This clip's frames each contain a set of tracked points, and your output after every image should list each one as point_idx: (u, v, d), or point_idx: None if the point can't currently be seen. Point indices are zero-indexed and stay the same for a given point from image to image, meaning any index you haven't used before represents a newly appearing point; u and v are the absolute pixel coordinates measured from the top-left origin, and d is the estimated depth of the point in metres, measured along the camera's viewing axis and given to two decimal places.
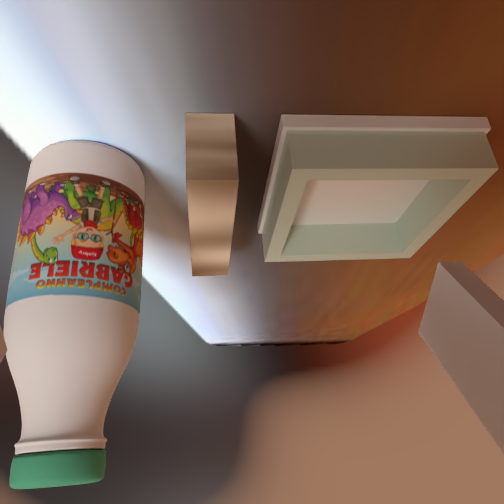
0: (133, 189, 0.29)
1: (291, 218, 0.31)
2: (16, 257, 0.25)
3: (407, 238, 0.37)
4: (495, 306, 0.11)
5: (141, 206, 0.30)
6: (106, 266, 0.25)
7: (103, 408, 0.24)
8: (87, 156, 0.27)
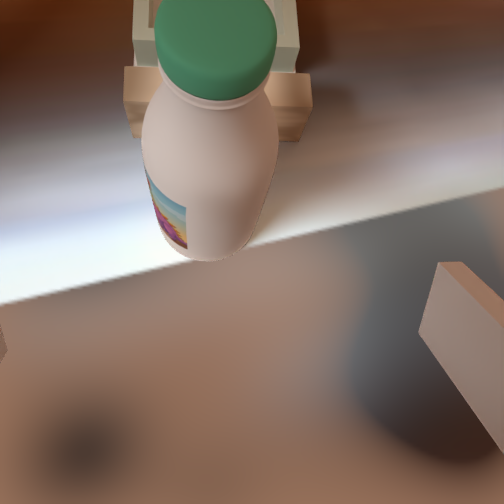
0: None
1: None
2: (169, 216, 0.26)
3: None
4: (495, 306, 0.11)
5: None
6: None
7: None
8: None
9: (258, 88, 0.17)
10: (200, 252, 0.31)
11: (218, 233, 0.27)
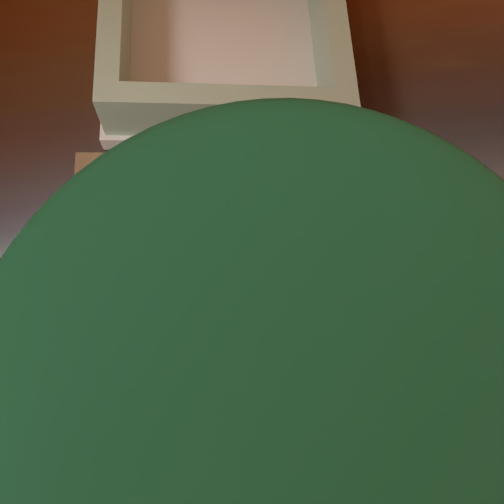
0: None
1: (216, 87, 0.22)
2: None
3: None
4: None
5: None
6: None
7: None
8: None
9: None
10: None
11: None
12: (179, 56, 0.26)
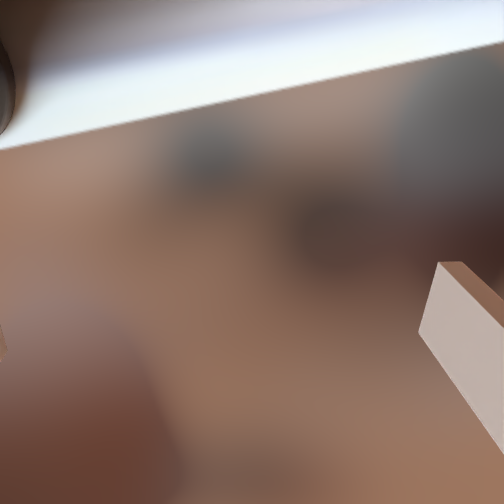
0: None
1: None
2: None
3: None
4: (495, 306, 0.11)
5: None
6: None
7: None
8: None
9: None
10: None
11: None
12: None
